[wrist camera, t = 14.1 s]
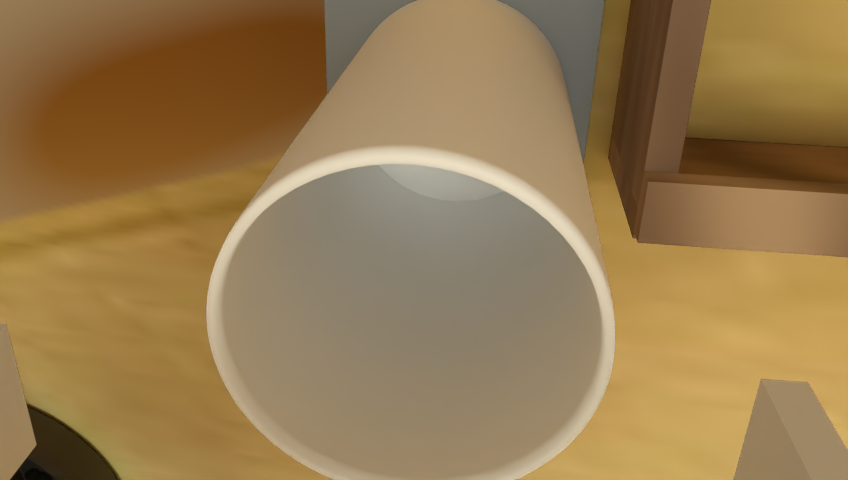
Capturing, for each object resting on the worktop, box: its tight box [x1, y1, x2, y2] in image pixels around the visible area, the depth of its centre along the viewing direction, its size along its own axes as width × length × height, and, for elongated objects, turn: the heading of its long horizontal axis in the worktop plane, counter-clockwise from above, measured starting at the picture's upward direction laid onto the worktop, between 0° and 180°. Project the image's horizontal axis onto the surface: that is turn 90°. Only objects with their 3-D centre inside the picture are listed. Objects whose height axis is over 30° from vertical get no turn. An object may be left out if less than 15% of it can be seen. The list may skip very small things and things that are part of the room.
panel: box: [325, 0, 605, 164], centre depth 30 cm, size 10×10×1 cm
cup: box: [206, 0, 615, 480], centre depth 23 cm, size 8×8×16 cm
